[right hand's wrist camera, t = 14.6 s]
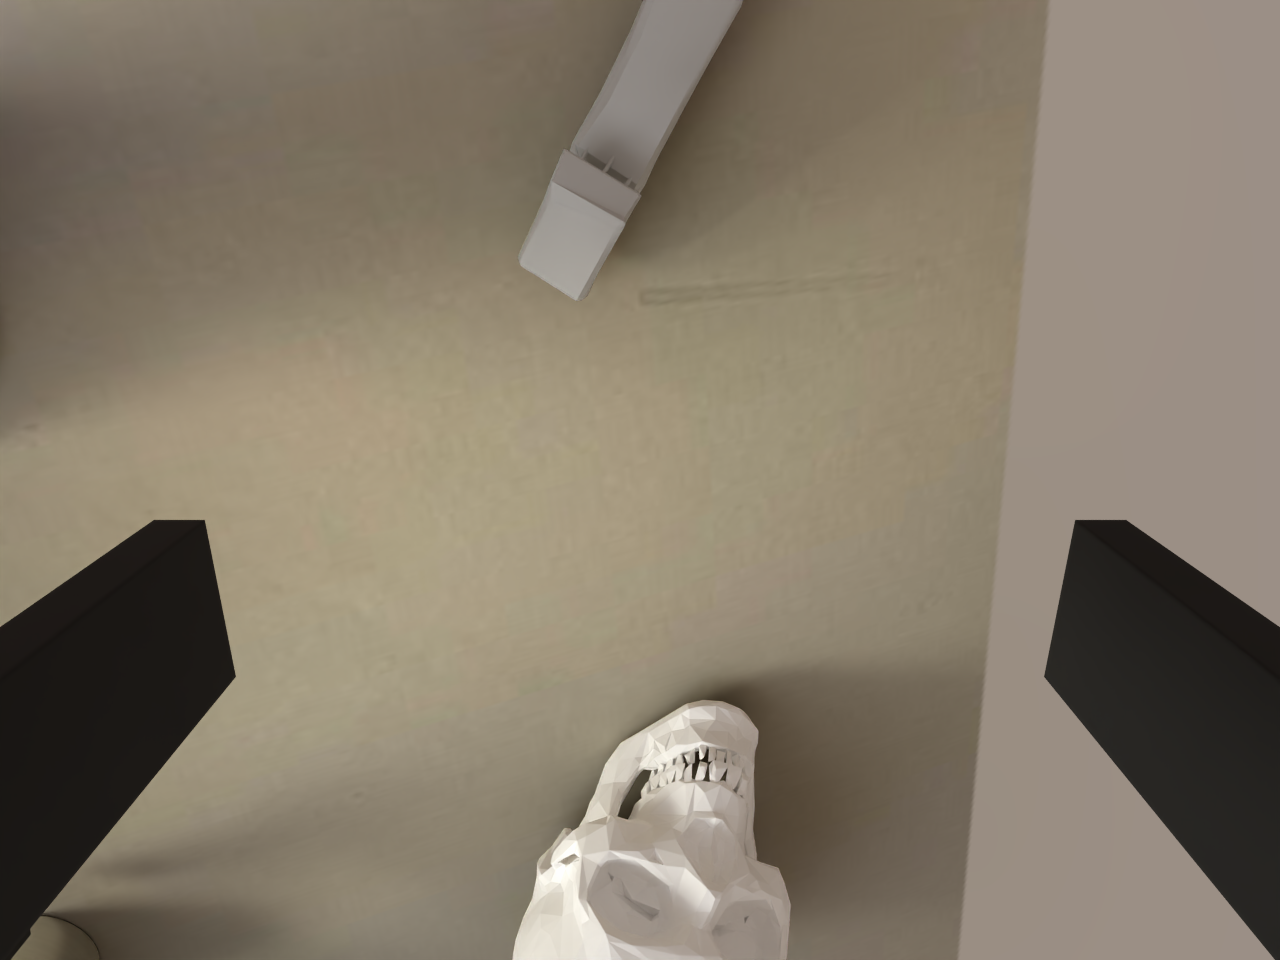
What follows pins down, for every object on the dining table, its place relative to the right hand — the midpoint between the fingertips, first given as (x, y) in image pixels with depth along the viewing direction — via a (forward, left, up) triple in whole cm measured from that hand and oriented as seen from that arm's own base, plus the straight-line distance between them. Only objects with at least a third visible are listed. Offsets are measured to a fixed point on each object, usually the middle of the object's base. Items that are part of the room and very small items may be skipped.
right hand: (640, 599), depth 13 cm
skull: (-28, -16, -30) cm, 44 cm away
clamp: (+9, +4, -30) cm, 31 cm away
